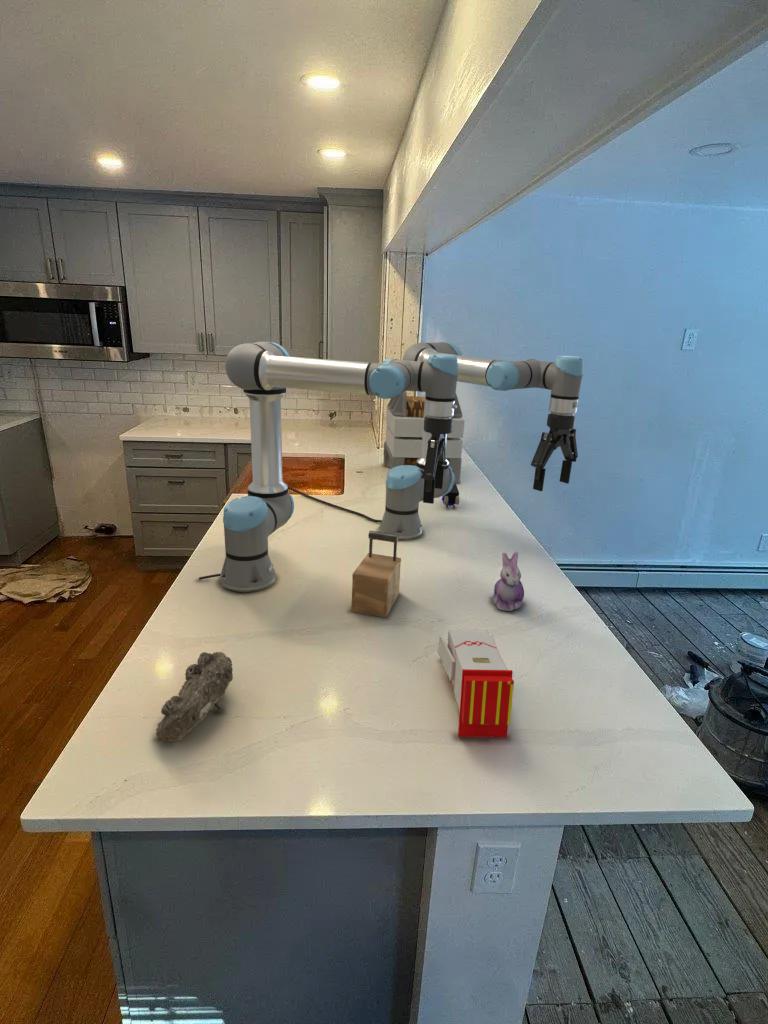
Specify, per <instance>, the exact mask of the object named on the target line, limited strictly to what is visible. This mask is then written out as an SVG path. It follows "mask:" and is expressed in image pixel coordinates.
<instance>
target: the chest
mask: <svg viewBox="0 0 768 1024" xmlns="http://www.w3.org/2000/svg"><path fill="white" fill-rule="evenodd" d="M401 563H402V561H401V562H400V564H399V566H398V567H397V569H396V571H395V572H394V574H393V576H392V577H391V579H390V581H389V582H388V583H383V582H377V581H371V580H365V579H358V578H352V579H351V582H352V583H351V612H354V613H359V614H365V615H371V616H376V617H383V618H387V617H388V615H389V614H390V612H391V610H392V608H393V605H394V604H395V602H396V601H397V598H398V596H399V594H400V582H401V581H400V580H401Z"/></svg>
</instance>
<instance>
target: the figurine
mask: <svg viewBox="0 0 768 1024" xmlns="http://www.w3.org/2000/svg"><path fill="white" fill-rule="evenodd" d="M501 558H502V559H501V560H502V568H501V570H500V574H499V575H500V579H498V580H497V581H496V582H495V584H494V588H493V598H492V600H493V604H494V605H495V606H496V607H497V609H498V610H500V611H504V612H505V611H506V612H512V611H513V610H518V609H519V608H521V605H522V604H523V601H524V598H525V589H524V585H523V583H522V581H521V578H522V573H521V570H520V568H519V566H518V560H519V552H518V551H515V552H514V553H513V554H512V556H511V558H509V557H508V555H507V553H506V552H505V551H503V552H502V553H501Z"/></svg>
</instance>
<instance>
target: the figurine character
mask: <svg viewBox="0 0 768 1024" xmlns="http://www.w3.org/2000/svg"><path fill="white" fill-rule="evenodd" d="M441 501H442V504H443V505H445V508H446V509H449V507H452V509H456V506H459V504H460V491H459V489H458V486H457V483H454V485H453V487H452V489H451V491H450V492H449V493H447V494H446V495H443V496H441Z"/></svg>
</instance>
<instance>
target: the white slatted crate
mask: <svg viewBox="0 0 768 1024" xmlns="http://www.w3.org/2000/svg"><path fill="white" fill-rule="evenodd" d="M407 394H408V393H407V391H404V392H402V393H401V394H399V395H398V396H396V397H394V398H390V399H389V402H388V404H387V405H386V413H385V414H386V415H385V423H386V428H385V438H384V442H383V466H384V467H388V468H389V470H390V469H392V468H394V467H396V466H401V465H404V466H405V465H413V466H416V461H417V459H419V458H420V457H421V450H422V434H423V418H424V403H425V396H415V395H414V396H413V395H412V396H411V395H407ZM454 405H457V408H456V409H454V415H453V416H452V417H451V418H453V431H452V432H451V433H449V434H447V441H446V459H447V460H448V462H449V466H450V467H451V469H452V473H454V483H455V484H459V483H461V472H462V461H463V460H462V453H463V442H464V441H463V440H462V439H463V438H464V431H465V430H464V429H465V419H464V418H463V411H462V408H461V405H460V402H459V398H458V395H457V394H456V395H455V403H454Z"/></svg>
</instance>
